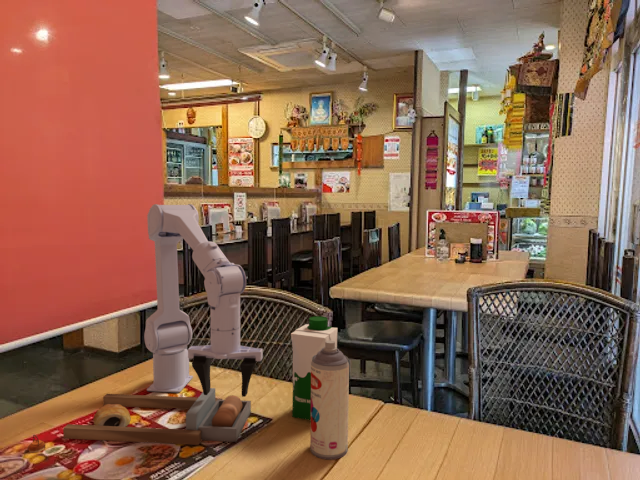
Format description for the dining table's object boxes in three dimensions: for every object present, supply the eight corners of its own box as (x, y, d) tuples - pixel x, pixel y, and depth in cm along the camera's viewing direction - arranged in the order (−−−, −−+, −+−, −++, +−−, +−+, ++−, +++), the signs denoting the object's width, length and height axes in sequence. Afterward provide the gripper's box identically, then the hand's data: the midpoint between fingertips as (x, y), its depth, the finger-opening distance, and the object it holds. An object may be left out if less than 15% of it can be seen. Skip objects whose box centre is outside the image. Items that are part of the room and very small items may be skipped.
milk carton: (340, 407, 101) (341, 318, 99) (325, 426, 93) (326, 328, 91) (303, 401, 104) (304, 313, 103) (285, 418, 96) (286, 323, 94)
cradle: (217, 410, 99) (217, 399, 99) (250, 412, 99) (250, 400, 99) (198, 440, 87) (198, 427, 87) (236, 441, 87) (236, 429, 86)
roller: (221, 411, 97) (225, 393, 96) (240, 416, 97) (244, 398, 96) (209, 430, 89) (214, 410, 88) (230, 435, 89) (234, 415, 88)
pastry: (92, 416, 97) (92, 398, 96) (127, 410, 100) (127, 393, 100) (94, 437, 88) (93, 417, 88) (132, 429, 92) (132, 410, 91)
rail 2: (68, 434, 89) (68, 424, 89) (201, 440, 87) (201, 430, 87) (63, 438, 87) (63, 428, 87) (198, 444, 85) (198, 434, 85)
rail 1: (107, 402, 103) (107, 393, 103) (222, 407, 101) (222, 398, 101) (103, 405, 101) (103, 396, 101) (220, 410, 99) (220, 401, 99)
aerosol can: (307, 441, 87) (308, 337, 85) (342, 438, 88) (344, 335, 87) (313, 461, 80) (314, 348, 79) (351, 457, 82) (353, 346, 80)
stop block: (206, 410, 99) (206, 387, 99) (215, 410, 99) (215, 388, 99) (186, 439, 87) (185, 413, 87) (196, 439, 87) (196, 414, 87)
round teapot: (24, 454, 82) (23, 439, 82) (32, 445, 85) (31, 431, 85) (42, 453, 83) (41, 438, 82) (49, 444, 86) (48, 430, 85)
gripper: (182, 331, 88) (182, 400, 89) (257, 334, 87) (257, 404, 88) (194, 321, 95) (195, 385, 96) (264, 324, 94) (264, 389, 95)
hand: (225, 393), depth 92 cm, fingers open, 7 cm apart
